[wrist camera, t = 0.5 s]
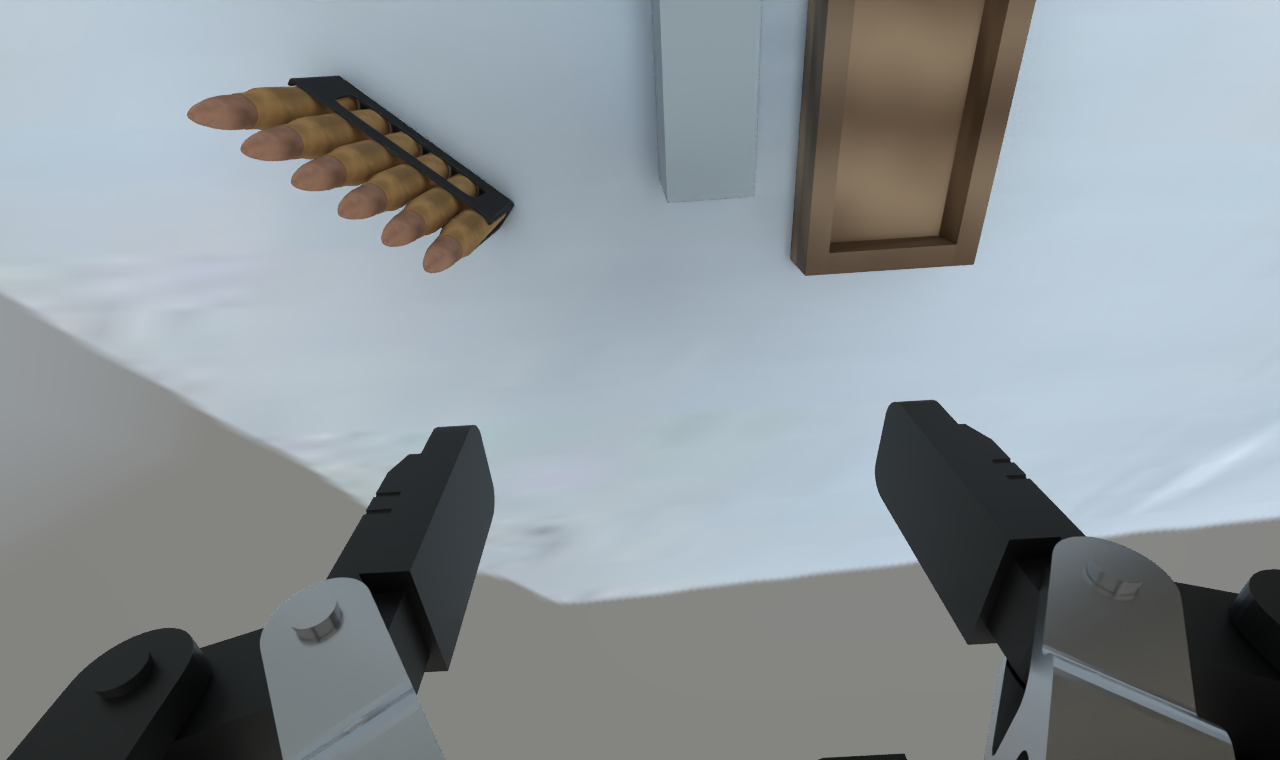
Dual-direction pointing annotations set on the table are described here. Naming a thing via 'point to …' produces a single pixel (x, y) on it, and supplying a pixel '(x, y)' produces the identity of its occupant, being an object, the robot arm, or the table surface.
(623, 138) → the table surface
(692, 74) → the long grey rectangular block
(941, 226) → the cradle jig
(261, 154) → the ammunition clip
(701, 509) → the table surface
